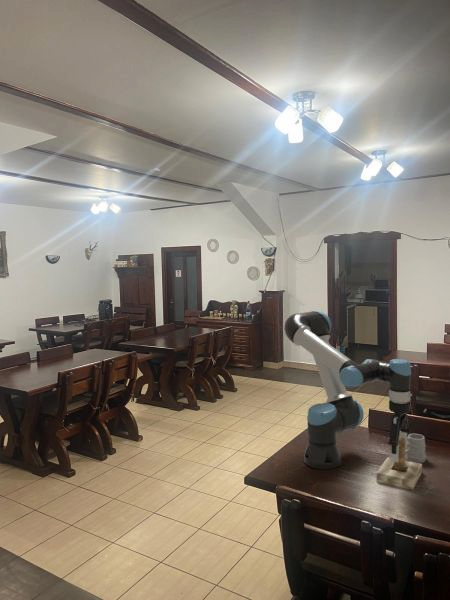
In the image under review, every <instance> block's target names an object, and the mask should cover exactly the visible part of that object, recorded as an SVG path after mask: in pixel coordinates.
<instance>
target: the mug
mask: <svg viewBox="0 0 450 600" xmlns="http://www.w3.org/2000/svg"><path fill="white" fill-rule="evenodd" d="M425 438H426V437H425V436H424V435H422V434H421V433H420V434H419V433H409V434H407V449H405V456H406V458H407V461H410V462H415V463H420V464H423V463H425V462H426V459H427V454H426V446H427V445H426V439H425Z"/></svg>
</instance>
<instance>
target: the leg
mask: <svg viewBox="0 0 450 600" xmlns="http://www.w3.org/2000/svg"><path fill="white" fill-rule="evenodd" d="M398 445H399V455H398V463H397V462H394V470H396V471H400V472H405V460H406V455H405V450H406V449H405V438H403V437H399V440H398Z"/></svg>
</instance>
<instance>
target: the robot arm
mask: <svg viewBox="0 0 450 600" xmlns="http://www.w3.org/2000/svg"><path fill="white" fill-rule="evenodd" d="M331 328H332V322H331V319H330V317H329V316H328V315H327V314H326V313H325V312H323V311H317V310H313V311H312V310H311V311H307V312H300V313H299V312H297V313H294V314H291V315H290V316H289V317H287V319H286V320H285V323H284V333H285V336H286V337H287V338H288V340H289V341H291V343H293V344H294V345H295V346H300V347H302V348H303V349H305V350H306V351H307V352H309V353H310V354H311V355H312V357H313V360H314V361H315V366H316V368H317V370H318V374H319V377H320V380H321V383H322V385H323V388H324V391H325V394H326V396H327V399H326V401H325V402H322V403H315V404H313V405H311V406H310V407H309V408H308V410H307V418H306V420H307V444H306V449H305V451H304V454H303V462H304V464H305V465H306V466H308V467H311V468H314V469H318V470H331V469H335V468H338V467H340V466H341V465H342V456H341V453H340V450H339V447H338V445H337V435H338V434H340V433H344V432H346V431H349V430H350V431H351V430H354V429H355V428H357V427H359V426H360V425H361V424H362V422H363V420H364V409H363V406H362V404H361V403H360V402H358V400H355V399H354V398H353V395H352V394H351V393H349V392H348V391H347V389H346V388H353V387H354V388H356V387H359V386H362V385H365V384H369V383H374V382H383V383H387V384H388V389H389V390H388V399H389V400H388V410H389V411H390V412H392V413H394V414H393V416H392V417H391V425H390V433H389V440H388V442H387V444H388V445H390V453H389V454H390V456H389V457H390V461H393V462H397V463H398V455H399V445H398V440H399V437H403V438H405V450H407V449H408V445H407V437H408V433H410V428H409V420H408V414H409V413H411V402H410V401H411V397H412V396H413V394H412V393H411V382H412V381H411V380H412V379H411V378H412V371H411V369H412V367H411V366H412V365H411V362H410V361H409V360H407V359H403V358H402V359H400V358H393V359H391V360H389V362H385V361H381V360H377V359H369V358H368V359H365V360H364V361H363V362H362V363H361V364H360V363H359V364H358V363H356V362H355V361H354V360H352V359H351V358H349V357H347V356H346V355H345V354H344V353H342V352H340V350H338V349H336V348H335V347H334V346H333V345H331V344H330V341H329V340H330V338H331V335H330V333H331V331H332V329H331Z"/></svg>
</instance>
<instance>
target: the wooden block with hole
mask: <svg viewBox="0 0 450 600" xmlns="http://www.w3.org/2000/svg"><path fill="white" fill-rule="evenodd" d="M422 474H423V463H415V462H411V461H409V460H406V459H405V472H400V471H396V470H394V462H393V461H390V456H387V457H386V459H385V460H384V462H382V464H381V466H380V467H379V469H378V470H377V472H376V482H377V483H380V484H386V485H390V486H393V487H396V488H400V489H401V488H402V489H406V490H410V491H414V489H415V488H416V485H417V483H418V481H419V480H420V477H421V476H422Z"/></svg>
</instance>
